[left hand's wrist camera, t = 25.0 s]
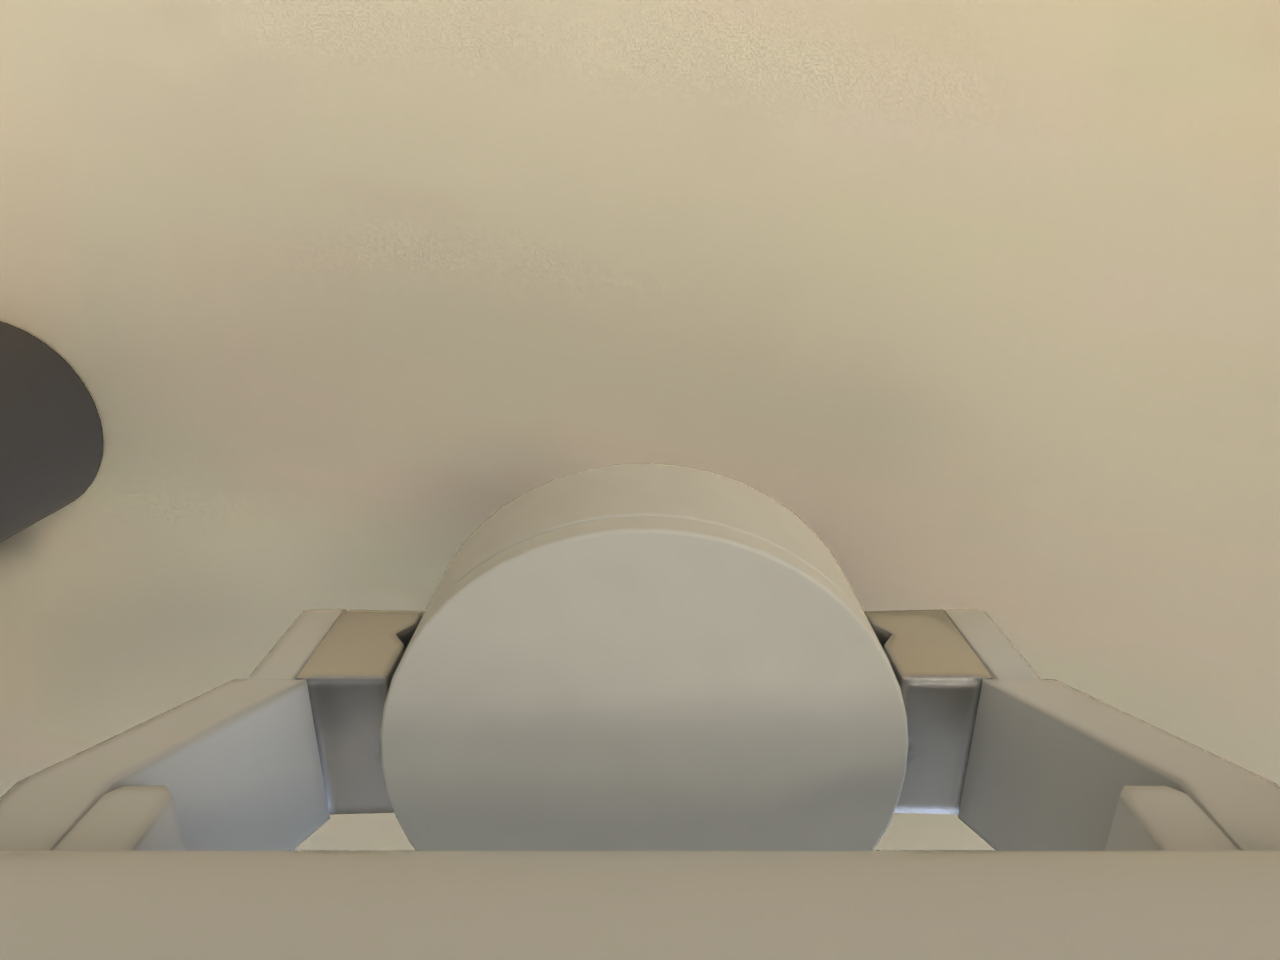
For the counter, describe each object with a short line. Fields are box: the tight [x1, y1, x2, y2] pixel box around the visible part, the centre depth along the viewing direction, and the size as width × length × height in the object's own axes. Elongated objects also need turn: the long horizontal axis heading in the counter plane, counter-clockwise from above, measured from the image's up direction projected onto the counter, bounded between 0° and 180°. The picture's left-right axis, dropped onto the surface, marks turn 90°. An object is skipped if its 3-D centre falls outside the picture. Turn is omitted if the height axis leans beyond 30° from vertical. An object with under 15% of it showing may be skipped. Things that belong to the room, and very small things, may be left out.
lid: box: [380, 463, 909, 851], centre depth 9 cm, size 6×6×2 cm
